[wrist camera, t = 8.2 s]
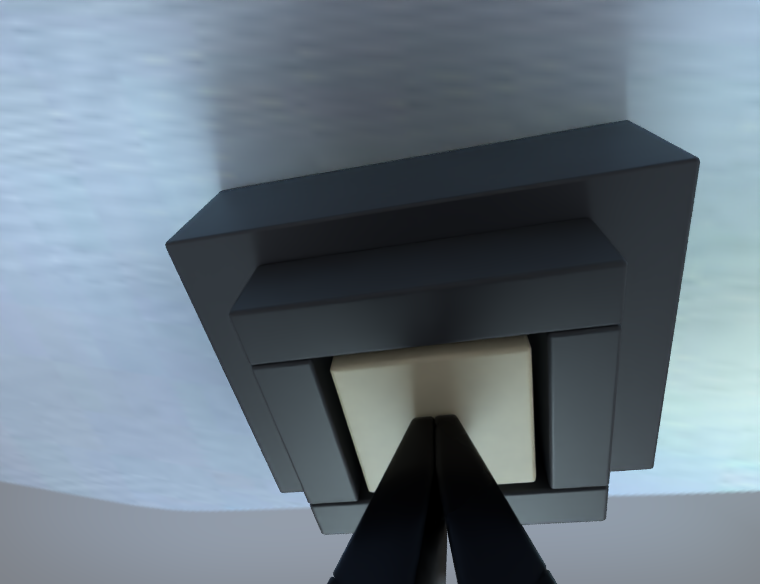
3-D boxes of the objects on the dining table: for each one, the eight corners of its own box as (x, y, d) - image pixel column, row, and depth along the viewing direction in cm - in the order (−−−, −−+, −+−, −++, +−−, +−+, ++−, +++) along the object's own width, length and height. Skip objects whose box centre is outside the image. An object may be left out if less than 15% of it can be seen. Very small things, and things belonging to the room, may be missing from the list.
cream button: (516, 299, 9) (532, 347, 8) (522, 426, 11) (537, 484, 10) (339, 320, 10) (328, 369, 8) (373, 439, 12) (368, 494, 10)
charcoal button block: (629, 118, 11) (772, 194, 6) (609, 383, 15) (689, 539, 10) (219, 190, 12) (112, 289, 8) (303, 411, 16) (262, 557, 12)
